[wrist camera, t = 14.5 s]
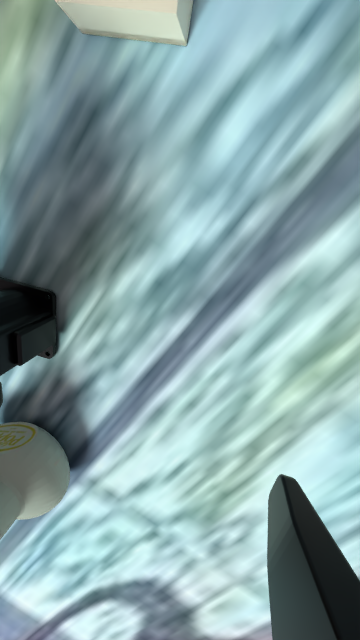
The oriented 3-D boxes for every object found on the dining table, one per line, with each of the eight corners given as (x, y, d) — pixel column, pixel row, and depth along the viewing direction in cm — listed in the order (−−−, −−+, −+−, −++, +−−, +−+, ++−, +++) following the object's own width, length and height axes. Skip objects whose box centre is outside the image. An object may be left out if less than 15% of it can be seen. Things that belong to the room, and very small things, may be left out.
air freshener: (69, 418, 27) (-18, 517, 18) (90, 477, 30) (23, 590, 21) (-13, 415, 30) (-124, 500, 21) (13, 469, 33) (-77, 566, 23)
